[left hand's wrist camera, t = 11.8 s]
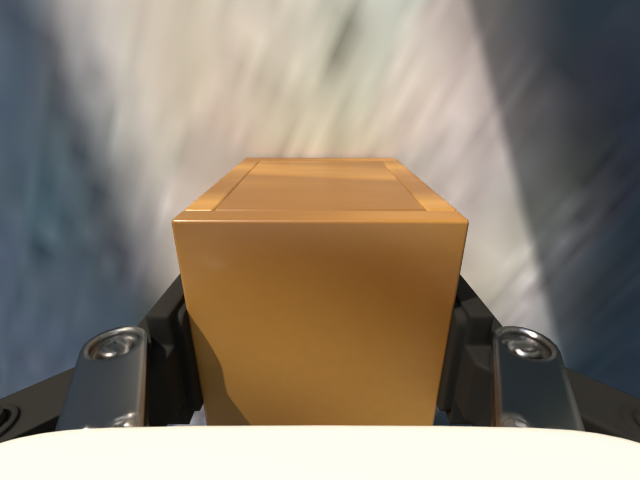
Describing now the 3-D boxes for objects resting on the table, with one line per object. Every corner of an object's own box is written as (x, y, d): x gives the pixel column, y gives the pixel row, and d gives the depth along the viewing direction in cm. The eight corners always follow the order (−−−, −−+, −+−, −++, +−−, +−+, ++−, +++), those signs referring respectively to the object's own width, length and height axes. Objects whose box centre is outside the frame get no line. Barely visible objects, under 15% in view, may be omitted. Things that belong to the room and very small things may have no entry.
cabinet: (370, 458, 21) (395, 642, 14) (270, 457, 21) (244, 642, 14) (395, 157, 14) (471, 220, 7) (245, 157, 14) (169, 220, 7)
